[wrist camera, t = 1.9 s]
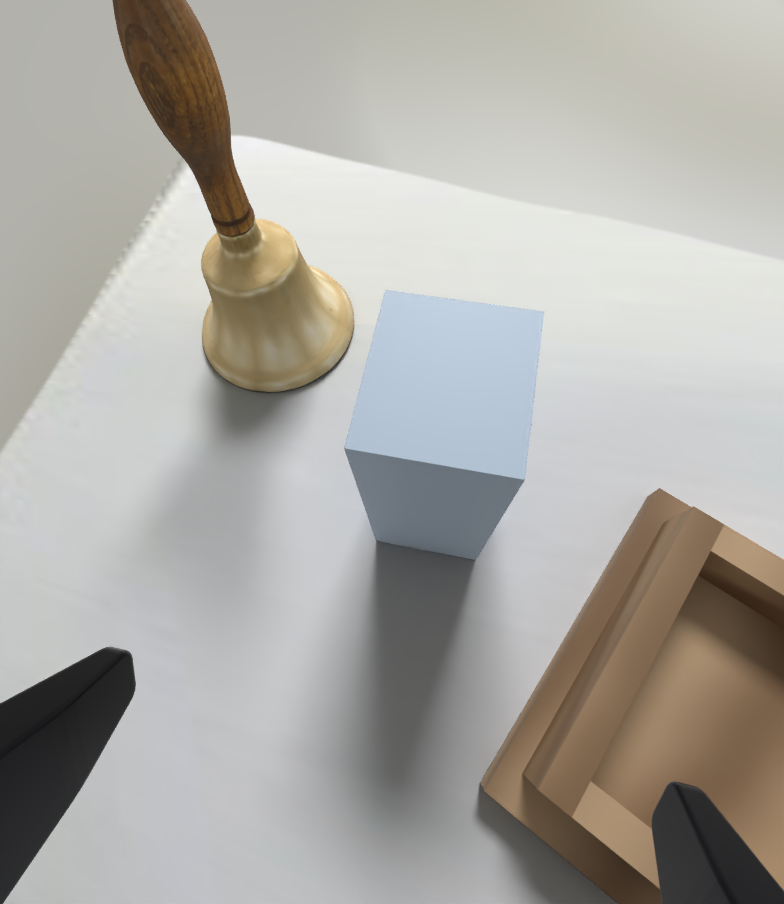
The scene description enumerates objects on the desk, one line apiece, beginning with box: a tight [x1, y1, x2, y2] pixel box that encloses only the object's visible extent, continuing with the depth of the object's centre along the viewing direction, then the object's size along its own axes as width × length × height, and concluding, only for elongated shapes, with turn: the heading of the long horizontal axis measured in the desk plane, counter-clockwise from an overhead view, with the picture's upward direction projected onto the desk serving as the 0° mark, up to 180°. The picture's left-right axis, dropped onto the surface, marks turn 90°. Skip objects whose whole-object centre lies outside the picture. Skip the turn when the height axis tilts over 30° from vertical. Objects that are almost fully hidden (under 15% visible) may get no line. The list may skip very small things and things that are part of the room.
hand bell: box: [113, 0, 354, 392], centre depth 20 cm, size 8×8×16 cm
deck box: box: [344, 290, 544, 560], centre depth 18 cm, size 5×5×11 cm
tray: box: [480, 488, 784, 904], centre depth 18 cm, size 12×14×4 cm
